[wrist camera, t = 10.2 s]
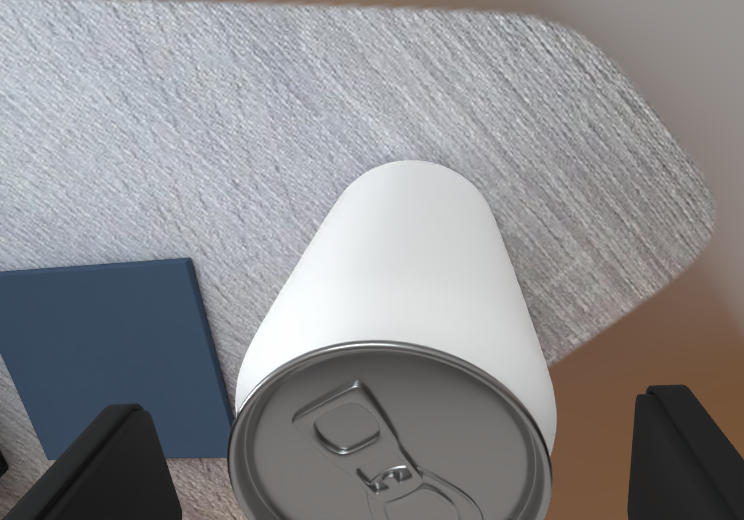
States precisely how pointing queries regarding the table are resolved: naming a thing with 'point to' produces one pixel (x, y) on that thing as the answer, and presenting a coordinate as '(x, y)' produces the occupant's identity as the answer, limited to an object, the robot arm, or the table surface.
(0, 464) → the black box
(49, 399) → the mat
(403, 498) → the can
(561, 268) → the table surface
